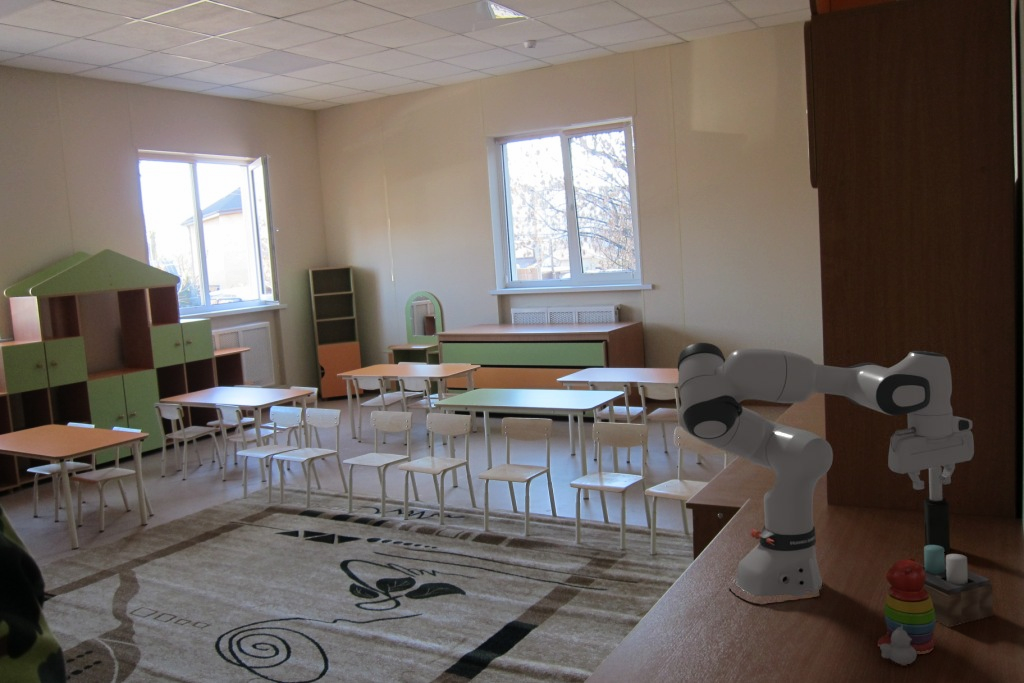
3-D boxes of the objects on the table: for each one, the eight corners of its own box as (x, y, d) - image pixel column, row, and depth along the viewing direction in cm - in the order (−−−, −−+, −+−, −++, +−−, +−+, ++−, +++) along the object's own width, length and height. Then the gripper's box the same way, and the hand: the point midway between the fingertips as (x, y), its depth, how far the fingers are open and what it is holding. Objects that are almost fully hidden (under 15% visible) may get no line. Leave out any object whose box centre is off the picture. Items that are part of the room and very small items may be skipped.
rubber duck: (920, 670, 164) (919, 630, 163) (884, 670, 165) (882, 630, 164) (912, 656, 169) (911, 618, 168) (877, 656, 171) (875, 618, 170)
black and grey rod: (951, 552, 218) (948, 457, 215) (929, 553, 219) (926, 457, 216) (945, 545, 223) (942, 451, 220) (924, 545, 224) (921, 452, 221)
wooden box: (948, 627, 180) (947, 591, 179) (902, 604, 192) (901, 570, 191) (993, 615, 183) (992, 579, 182) (945, 593, 195) (944, 559, 194)
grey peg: (957, 598, 181) (956, 562, 181) (942, 591, 185) (941, 556, 184) (972, 594, 183) (971, 558, 182) (957, 587, 186) (956, 552, 185)
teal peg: (934, 587, 187) (933, 552, 186) (921, 581, 191) (919, 547, 190) (949, 584, 189) (948, 549, 188) (935, 577, 192) (934, 543, 191)
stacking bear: (890, 628, 181) (887, 547, 179) (942, 639, 175) (939, 555, 173) (874, 649, 173) (871, 565, 171) (928, 662, 167) (925, 574, 165)
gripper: (901, 434, 180) (903, 498, 181) (978, 420, 186) (980, 482, 187) (880, 428, 186) (882, 490, 187) (955, 415, 192) (957, 475, 193)
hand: (931, 486), depth 187 cm, fingers open, 6 cm apart
